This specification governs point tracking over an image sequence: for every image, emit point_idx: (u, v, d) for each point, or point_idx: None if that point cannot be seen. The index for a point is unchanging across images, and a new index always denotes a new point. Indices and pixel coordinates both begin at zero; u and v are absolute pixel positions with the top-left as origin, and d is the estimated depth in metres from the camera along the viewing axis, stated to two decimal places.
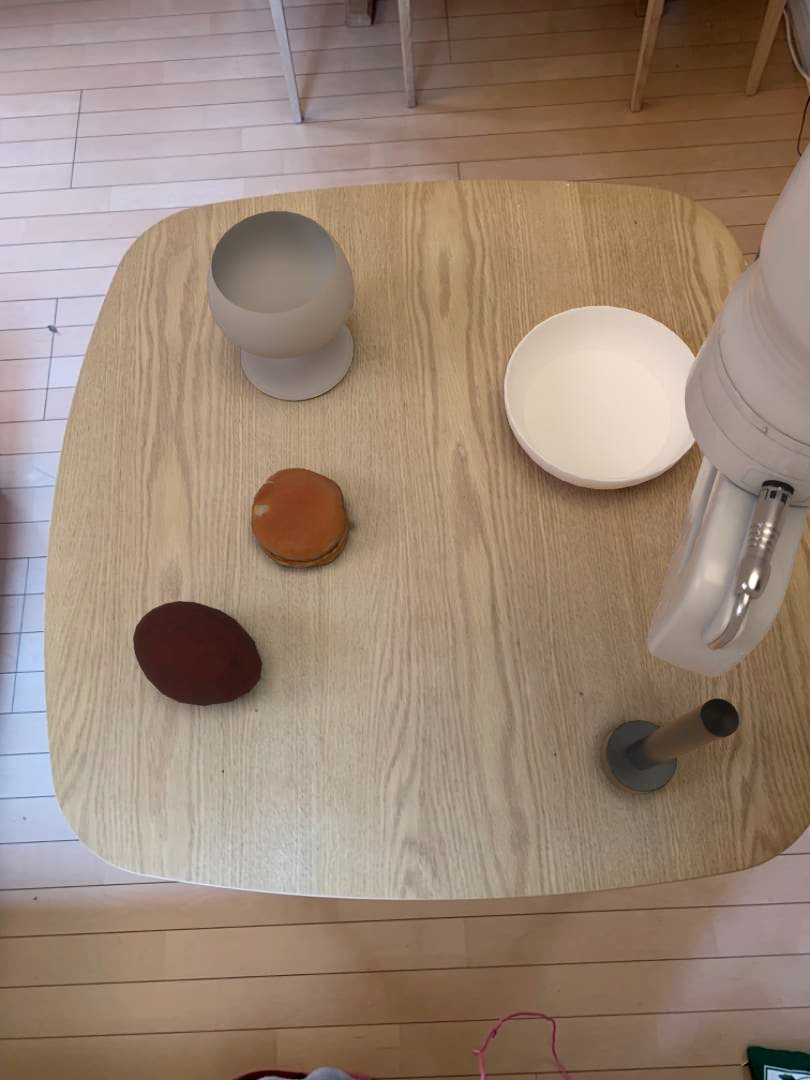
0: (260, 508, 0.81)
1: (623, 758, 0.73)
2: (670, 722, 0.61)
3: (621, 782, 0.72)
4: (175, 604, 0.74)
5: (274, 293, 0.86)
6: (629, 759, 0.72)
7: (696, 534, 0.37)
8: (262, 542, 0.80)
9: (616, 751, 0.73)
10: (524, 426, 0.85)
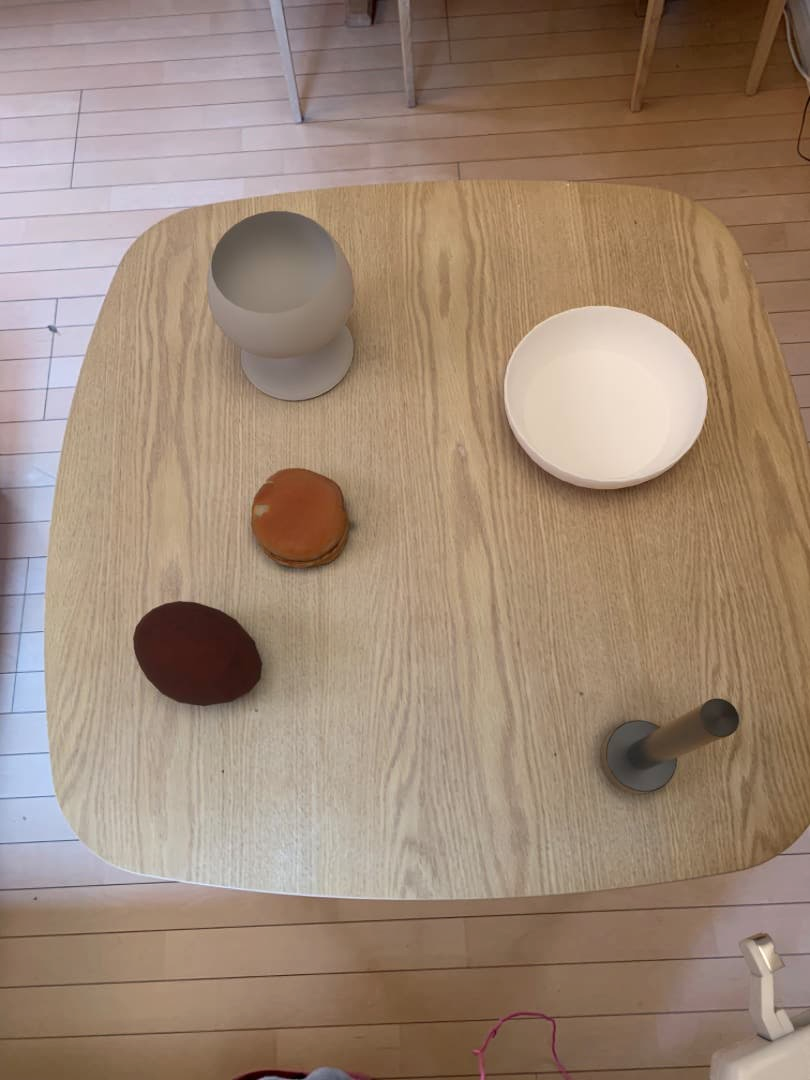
0: (260, 508, 0.81)
1: (623, 758, 0.73)
2: (670, 722, 0.61)
3: (621, 782, 0.72)
4: (175, 604, 0.74)
5: (274, 293, 0.86)
6: (629, 759, 0.72)
7: None
8: (262, 542, 0.80)
9: (616, 751, 0.73)
10: (524, 426, 0.85)
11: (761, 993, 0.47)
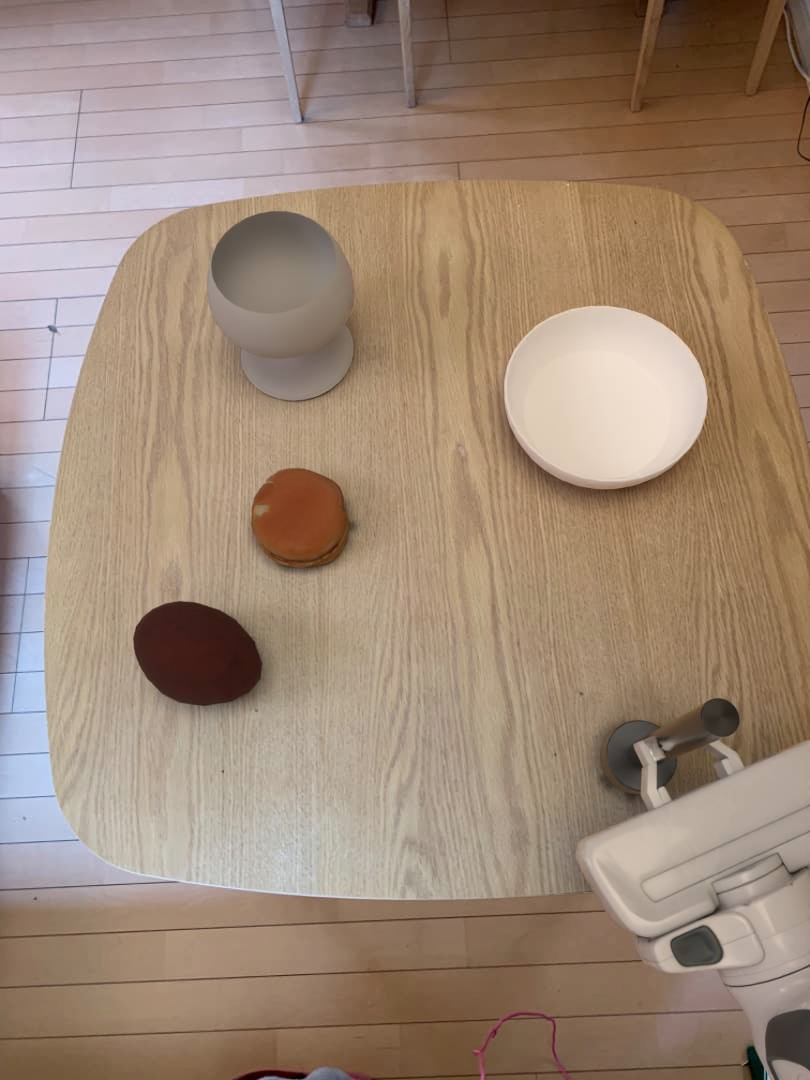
0: (260, 508, 0.81)
1: (623, 758, 0.73)
2: (670, 722, 0.61)
3: (621, 782, 0.72)
4: (175, 604, 0.74)
5: (274, 293, 0.86)
6: (629, 759, 0.72)
7: None
8: (262, 542, 0.80)
9: (616, 751, 0.73)
10: (524, 426, 0.85)
11: (647, 776, 0.62)
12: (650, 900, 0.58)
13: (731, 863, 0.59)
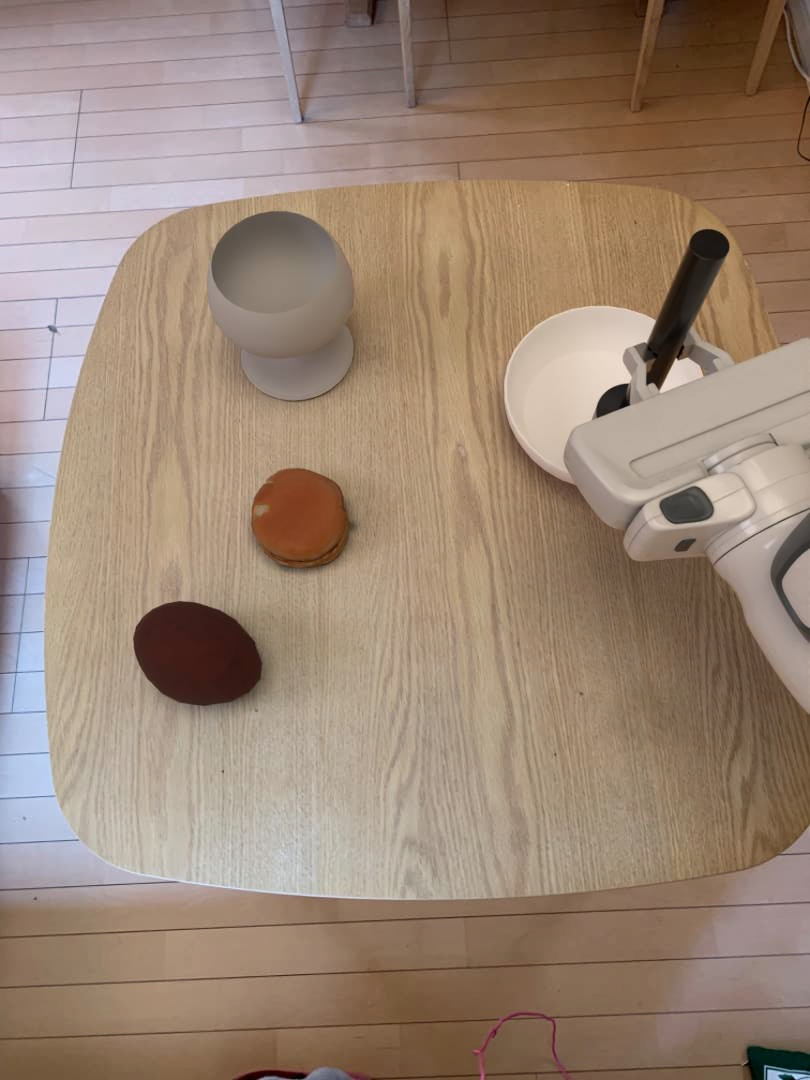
0: (260, 508, 0.81)
1: None
2: None
3: None
4: (175, 604, 0.74)
5: (274, 293, 0.86)
6: None
7: None
8: (262, 542, 0.80)
9: (606, 411, 0.71)
10: (524, 426, 0.85)
11: (636, 375, 0.61)
12: (639, 477, 0.57)
13: (722, 445, 0.58)
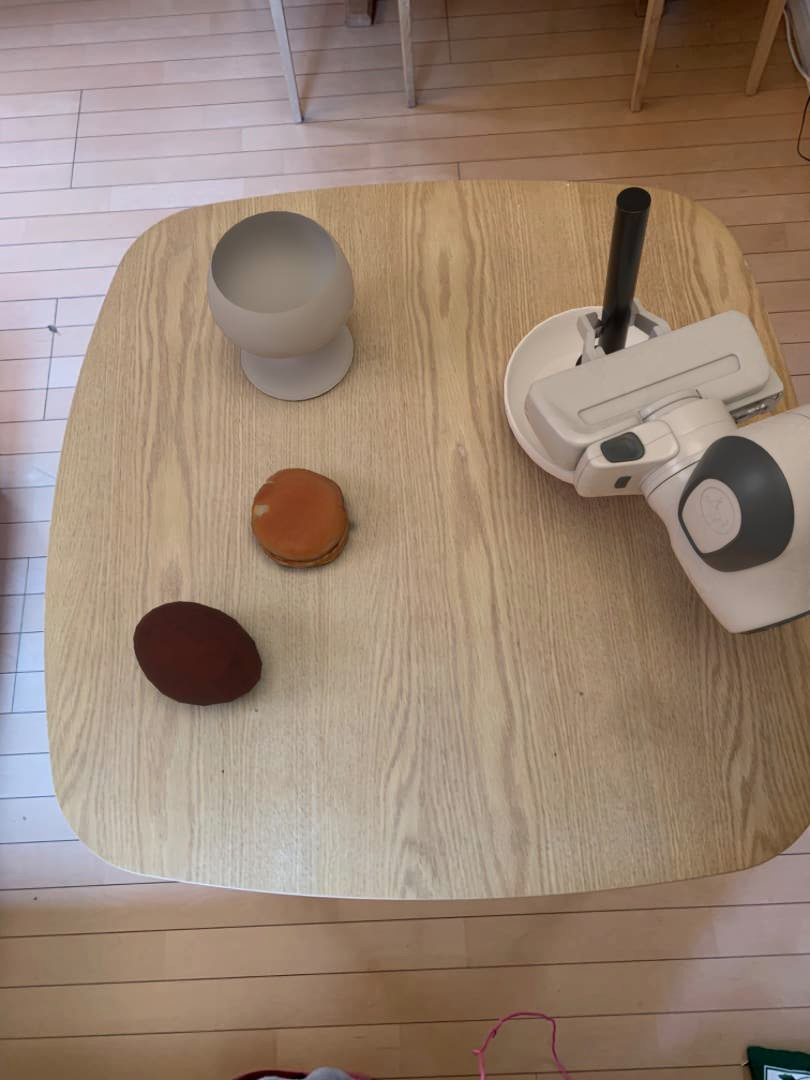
0: (260, 508, 0.81)
1: None
2: None
3: None
4: (175, 604, 0.74)
5: (274, 293, 0.86)
6: None
7: None
8: (262, 542, 0.80)
9: None
10: (524, 426, 0.85)
11: (586, 339, 0.71)
12: (585, 424, 0.68)
13: (656, 399, 0.69)
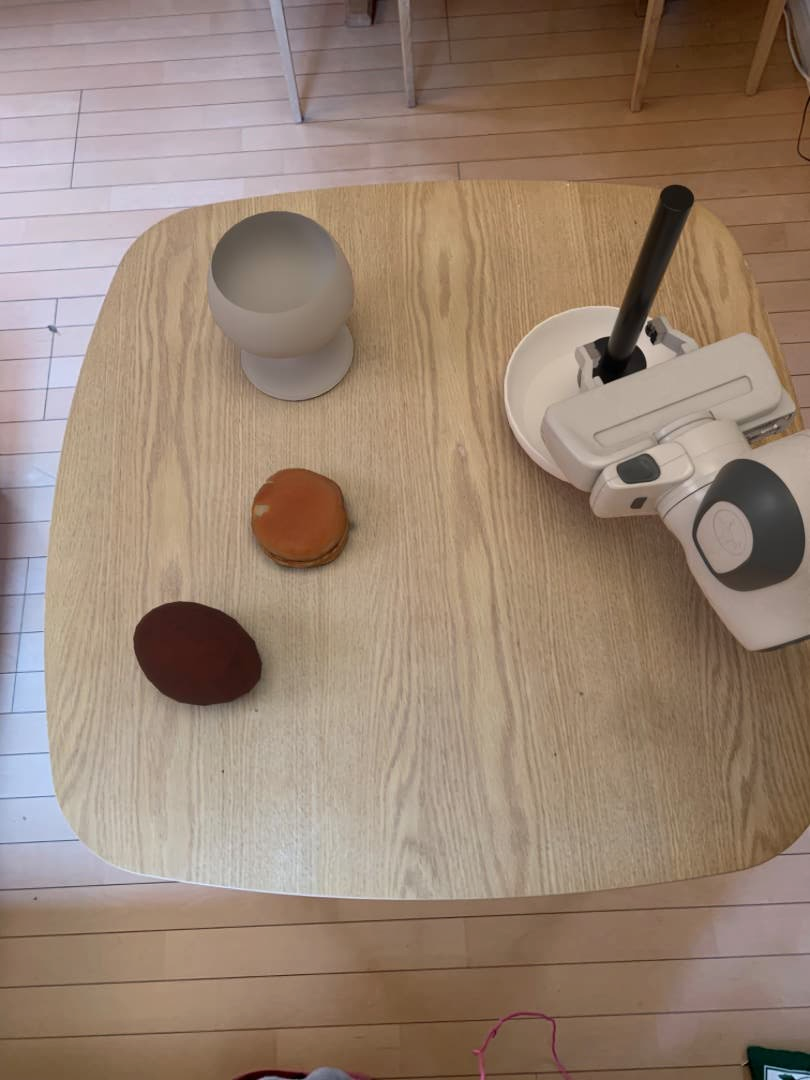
0: (260, 508, 0.81)
1: None
2: None
3: None
4: (175, 604, 0.74)
5: (274, 293, 0.86)
6: (603, 362, 0.79)
7: None
8: (262, 542, 0.80)
9: None
10: (524, 426, 0.85)
11: (584, 369, 0.72)
12: (601, 446, 0.69)
13: (670, 421, 0.70)
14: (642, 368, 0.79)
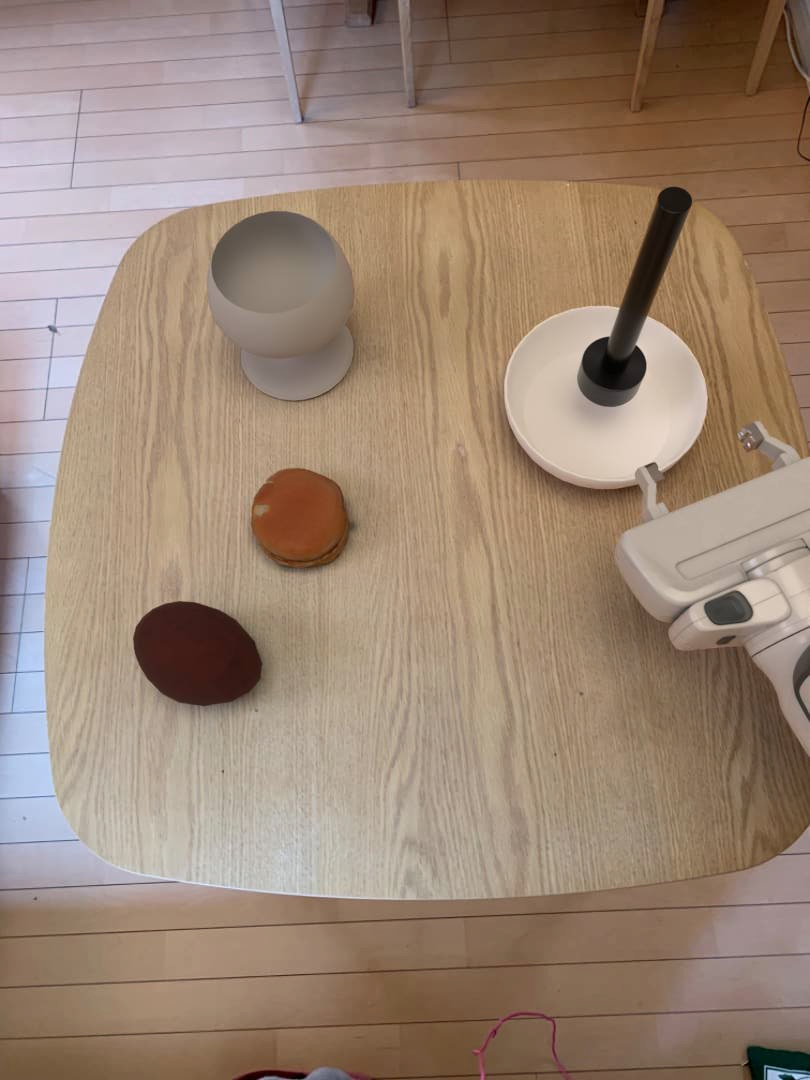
0: (260, 508, 0.81)
1: (597, 363, 0.79)
2: None
3: (592, 382, 0.79)
4: (175, 604, 0.74)
5: (274, 293, 0.86)
6: (602, 363, 0.79)
7: None
8: (262, 542, 0.80)
9: (591, 358, 0.80)
10: (524, 426, 0.85)
11: (647, 494, 0.67)
12: (684, 578, 0.63)
13: (759, 549, 0.64)
14: (642, 368, 0.79)
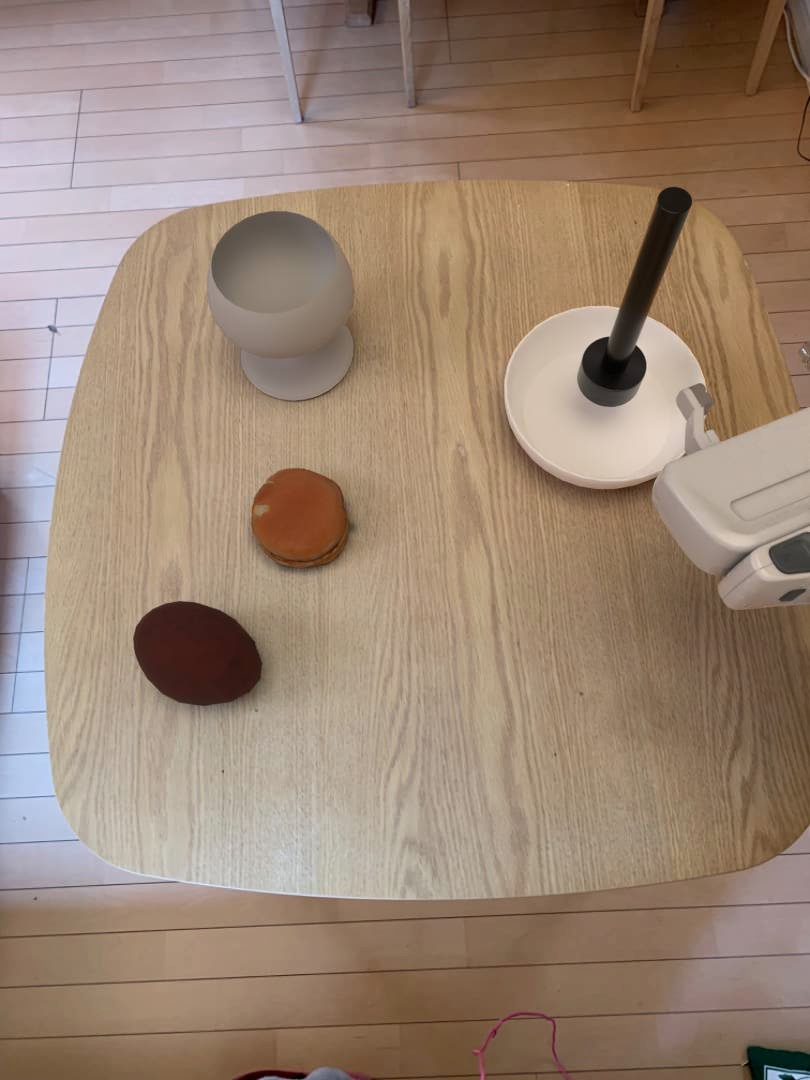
0: (260, 508, 0.81)
1: (597, 363, 0.79)
2: None
3: (592, 382, 0.79)
4: (175, 604, 0.74)
5: (274, 293, 0.86)
6: (602, 363, 0.79)
7: None
8: (262, 542, 0.80)
9: (591, 358, 0.80)
10: (524, 426, 0.85)
11: (693, 420, 0.55)
12: (741, 520, 0.52)
13: None
14: (642, 368, 0.79)
